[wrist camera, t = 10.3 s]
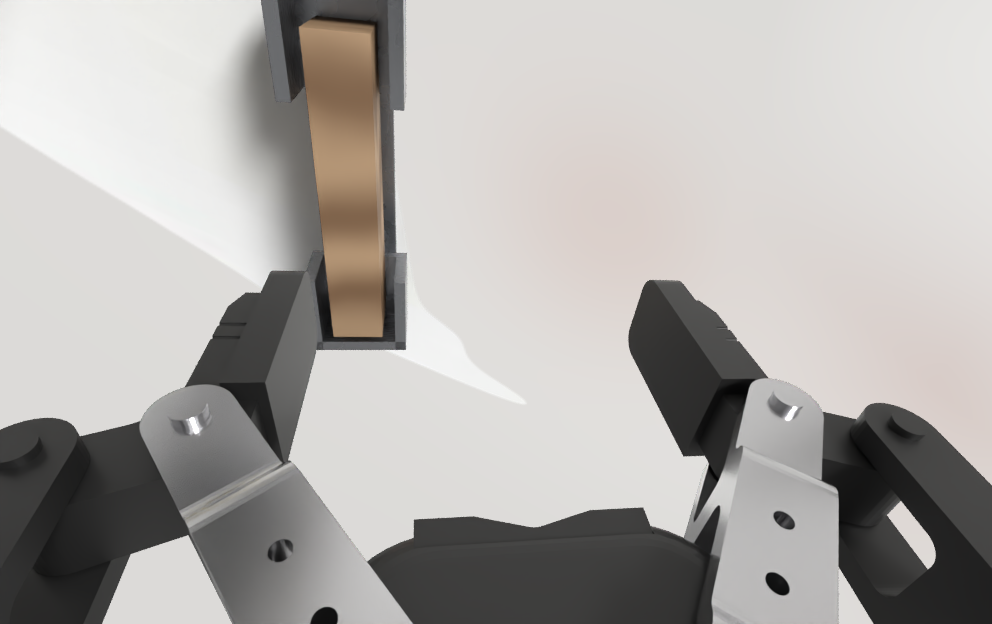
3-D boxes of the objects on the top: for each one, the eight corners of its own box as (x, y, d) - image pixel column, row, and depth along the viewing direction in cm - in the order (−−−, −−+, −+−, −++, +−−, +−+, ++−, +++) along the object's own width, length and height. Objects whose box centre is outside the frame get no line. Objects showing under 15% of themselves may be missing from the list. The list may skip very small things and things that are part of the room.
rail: (315, 15, 29) (298, 26, 25) (377, 21, 30) (370, 33, 26) (342, 298, 41) (333, 336, 37) (386, 298, 41) (382, 337, 37)
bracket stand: (293, -43, 31) (255, -40, 24) (407, -30, 33) (403, -23, 25) (330, 288, 46) (313, 351, 39) (408, 289, 47) (405, 351, 40)
